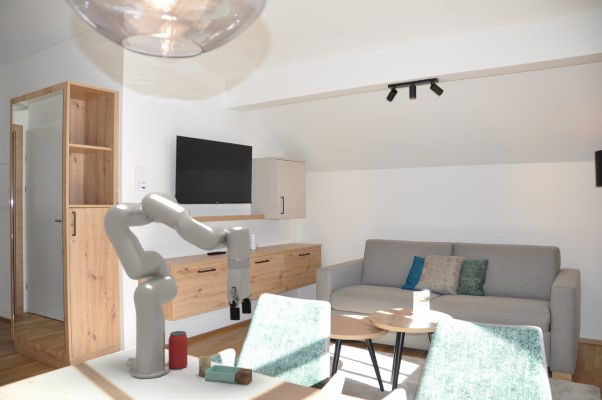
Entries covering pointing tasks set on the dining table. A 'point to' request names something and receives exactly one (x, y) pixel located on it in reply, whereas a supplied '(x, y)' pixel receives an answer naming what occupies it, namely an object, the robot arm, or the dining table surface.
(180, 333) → the beer can
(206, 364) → the beech dowel
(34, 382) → the dining table surface
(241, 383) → the walnut cube
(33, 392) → the dining table surface
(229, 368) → the tote
